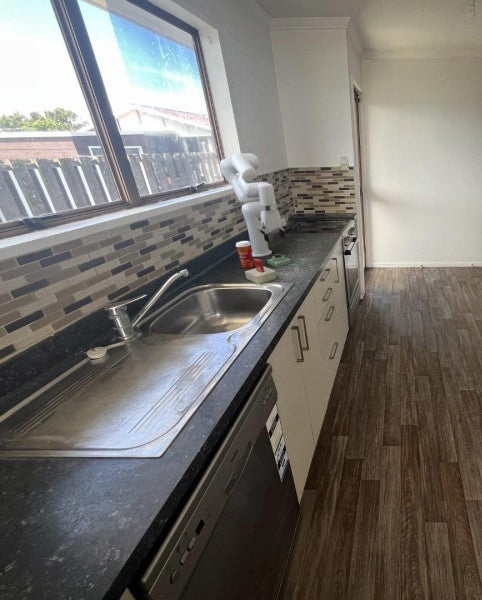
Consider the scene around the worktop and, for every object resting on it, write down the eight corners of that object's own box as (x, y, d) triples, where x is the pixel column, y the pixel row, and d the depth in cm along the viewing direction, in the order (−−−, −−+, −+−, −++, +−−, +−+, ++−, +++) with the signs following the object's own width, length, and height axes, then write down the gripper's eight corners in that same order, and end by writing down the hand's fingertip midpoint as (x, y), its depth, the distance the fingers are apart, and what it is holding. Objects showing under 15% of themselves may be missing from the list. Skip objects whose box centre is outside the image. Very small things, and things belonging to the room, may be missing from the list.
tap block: (246, 278, 168) (244, 271, 166) (264, 273, 175) (262, 265, 173) (258, 284, 161) (257, 276, 159) (276, 278, 168) (275, 270, 166)
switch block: (267, 263, 189) (266, 257, 187) (281, 259, 195) (280, 253, 194) (277, 267, 183) (275, 260, 182) (291, 263, 189) (290, 256, 188)
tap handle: (255, 270, 167) (253, 258, 165) (258, 269, 168) (256, 257, 166) (261, 272, 164) (259, 260, 161) (264, 271, 165) (262, 259, 163)
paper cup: (237, 268, 183) (231, 243, 177) (248, 263, 189) (243, 240, 183) (248, 269, 180) (242, 245, 174) (258, 265, 187) (253, 241, 181)
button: (273, 257, 187) (273, 254, 187) (279, 256, 190) (278, 253, 189) (277, 258, 185) (276, 255, 185) (282, 257, 188) (282, 254, 187)
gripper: (279, 205, 184) (284, 235, 191) (250, 209, 172) (256, 241, 179) (287, 206, 180) (292, 237, 187) (257, 211, 168) (264, 244, 175)
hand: (274, 239), depth 183 cm, fingers open, 8 cm apart
